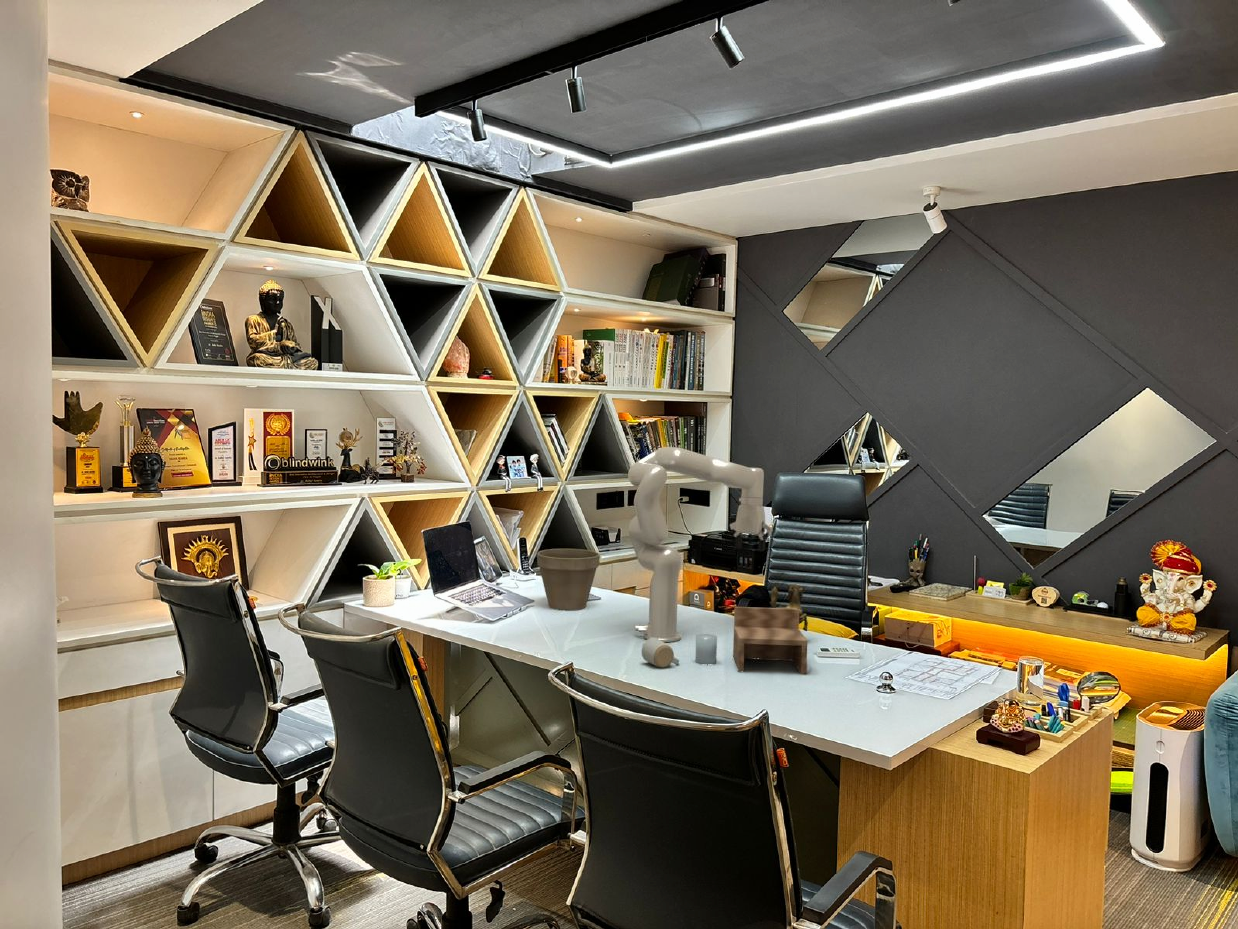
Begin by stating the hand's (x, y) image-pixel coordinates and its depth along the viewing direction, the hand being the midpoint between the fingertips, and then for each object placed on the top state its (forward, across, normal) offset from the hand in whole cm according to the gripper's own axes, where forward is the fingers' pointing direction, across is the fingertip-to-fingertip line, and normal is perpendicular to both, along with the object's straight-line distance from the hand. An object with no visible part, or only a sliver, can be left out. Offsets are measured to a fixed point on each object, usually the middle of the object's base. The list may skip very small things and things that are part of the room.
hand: (749, 549), depth 326 cm
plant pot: (+30, -71, -19) cm, 79 cm away
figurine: (+29, +20, -10) cm, 37 cm away
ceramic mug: (+30, +9, -61) cm, 69 cm away
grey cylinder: (+30, +17, -49) cm, 60 cm away
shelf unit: (+29, +33, -39) cm, 59 cm away
